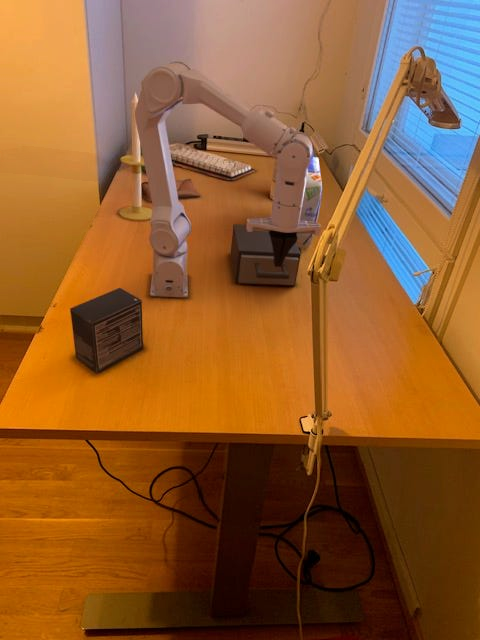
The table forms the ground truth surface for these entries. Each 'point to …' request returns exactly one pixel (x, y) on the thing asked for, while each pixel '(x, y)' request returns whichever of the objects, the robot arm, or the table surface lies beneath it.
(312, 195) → the lunch box
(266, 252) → the drawer cabinet
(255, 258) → the dish drawer
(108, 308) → the small box
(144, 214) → the candle
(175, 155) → the mechanical keyboard
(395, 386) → the table surface
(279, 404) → the table surface
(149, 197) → the sunglasses case
